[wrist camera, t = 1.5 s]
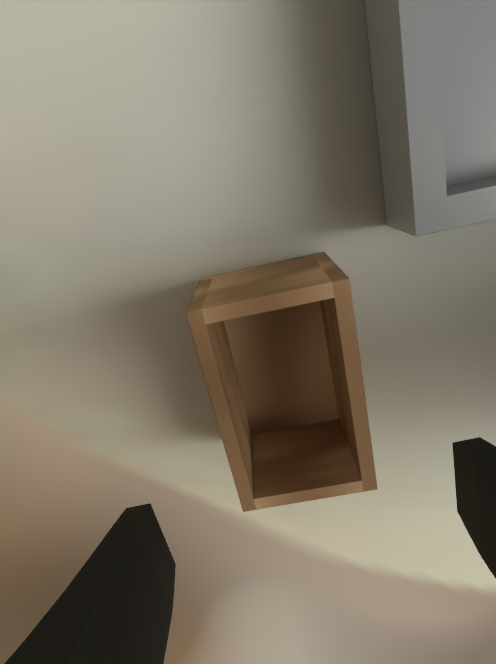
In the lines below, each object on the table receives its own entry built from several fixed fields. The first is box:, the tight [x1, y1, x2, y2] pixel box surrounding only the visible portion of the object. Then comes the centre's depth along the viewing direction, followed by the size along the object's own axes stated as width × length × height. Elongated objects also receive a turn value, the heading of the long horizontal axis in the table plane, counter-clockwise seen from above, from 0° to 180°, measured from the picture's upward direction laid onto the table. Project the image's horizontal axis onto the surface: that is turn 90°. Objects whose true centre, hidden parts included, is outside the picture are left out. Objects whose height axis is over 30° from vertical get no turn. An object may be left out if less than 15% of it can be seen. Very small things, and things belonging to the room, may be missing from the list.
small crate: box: [186, 252, 377, 512], centre depth 16 cm, size 5×8×4 cm, turn 12°
